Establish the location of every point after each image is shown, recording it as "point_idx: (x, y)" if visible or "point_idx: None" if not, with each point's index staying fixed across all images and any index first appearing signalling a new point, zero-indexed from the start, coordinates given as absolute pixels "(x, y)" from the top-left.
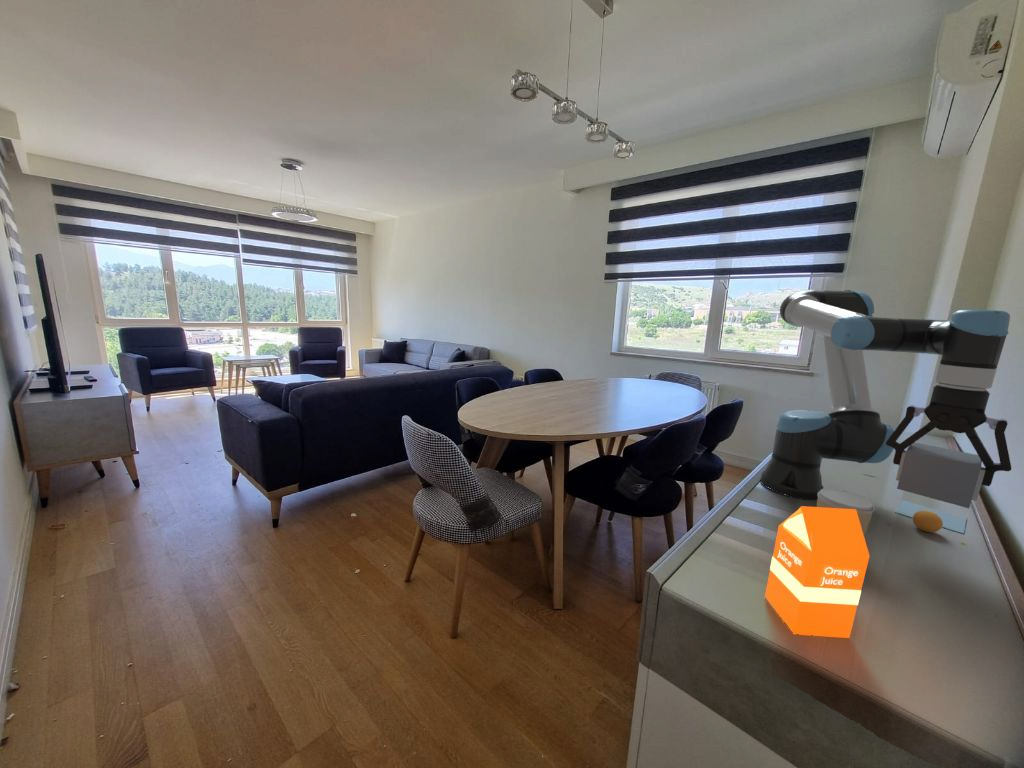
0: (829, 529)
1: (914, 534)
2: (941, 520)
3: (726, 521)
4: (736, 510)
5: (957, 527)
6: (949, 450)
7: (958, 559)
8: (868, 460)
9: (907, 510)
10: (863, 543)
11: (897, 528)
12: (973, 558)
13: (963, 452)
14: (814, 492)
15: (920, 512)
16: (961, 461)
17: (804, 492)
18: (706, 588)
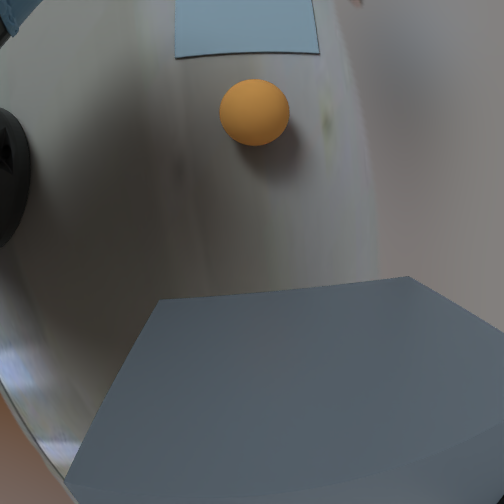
0: None
1: (239, 179)
2: (286, 110)
3: (51, 458)
4: (23, 415)
5: (302, 24)
6: (407, 497)
7: (330, 247)
8: (15, 33)
9: (196, 14)
10: None
11: (201, 180)
12: (351, 205)
13: (502, 429)
14: (11, 209)
15: (235, 119)
16: None
17: (2, 234)
18: None
